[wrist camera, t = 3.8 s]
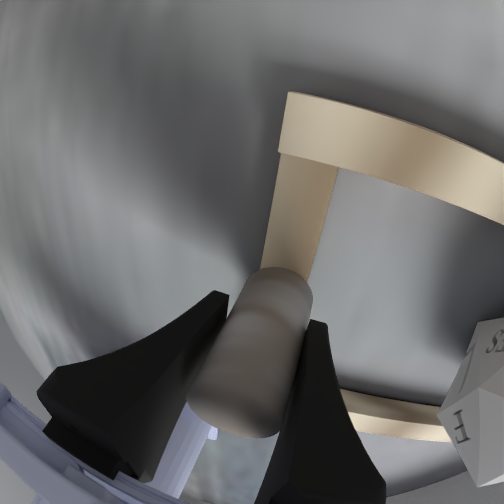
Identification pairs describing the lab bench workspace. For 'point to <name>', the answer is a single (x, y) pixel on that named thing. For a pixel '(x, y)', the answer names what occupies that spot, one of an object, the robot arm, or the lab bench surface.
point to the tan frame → (303, 252)
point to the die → (479, 405)
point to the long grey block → (452, 493)
